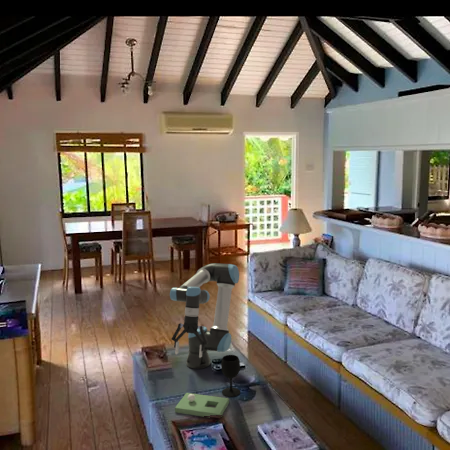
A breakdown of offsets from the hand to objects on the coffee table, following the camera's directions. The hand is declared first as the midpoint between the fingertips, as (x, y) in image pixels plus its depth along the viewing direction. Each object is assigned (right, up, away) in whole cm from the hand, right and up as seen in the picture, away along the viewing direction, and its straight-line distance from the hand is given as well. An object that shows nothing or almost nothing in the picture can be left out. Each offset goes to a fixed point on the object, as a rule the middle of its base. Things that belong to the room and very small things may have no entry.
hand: (188, 355), depth 254 cm
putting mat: (+8, -25, -8) cm, 27 cm away
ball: (+2, -20, -7) cm, 21 cm away
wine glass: (+23, -23, +7) cm, 33 cm away
